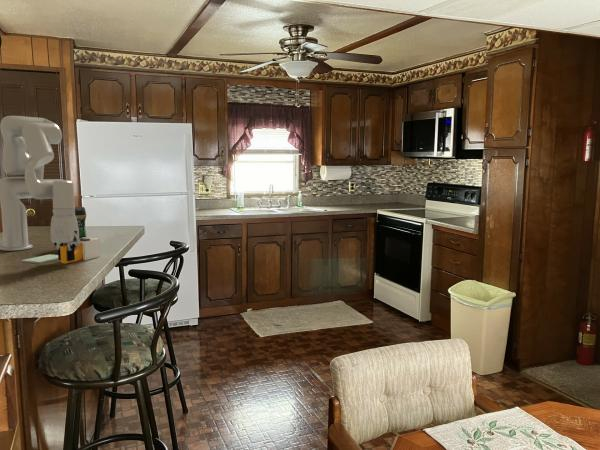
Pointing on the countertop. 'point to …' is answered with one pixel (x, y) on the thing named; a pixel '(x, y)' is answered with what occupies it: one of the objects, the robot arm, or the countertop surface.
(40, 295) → the countertop surface
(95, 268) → the countertop surface
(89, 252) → the hollow square frame
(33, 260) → the mat
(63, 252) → the orange branched block
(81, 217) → the coffee jar
